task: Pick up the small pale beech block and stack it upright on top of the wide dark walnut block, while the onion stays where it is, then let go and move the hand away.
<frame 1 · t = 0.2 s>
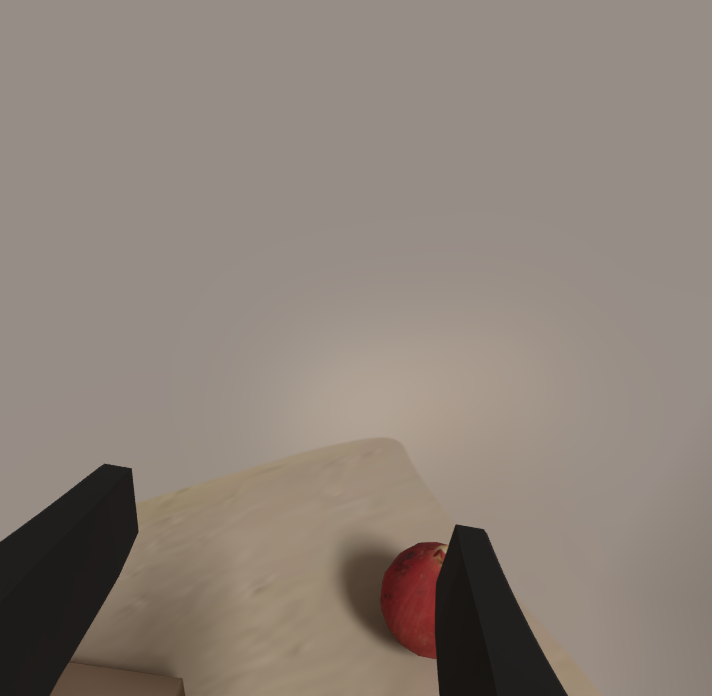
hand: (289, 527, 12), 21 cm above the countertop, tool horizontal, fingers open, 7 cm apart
onion: (422, 639, 32), on the countertop
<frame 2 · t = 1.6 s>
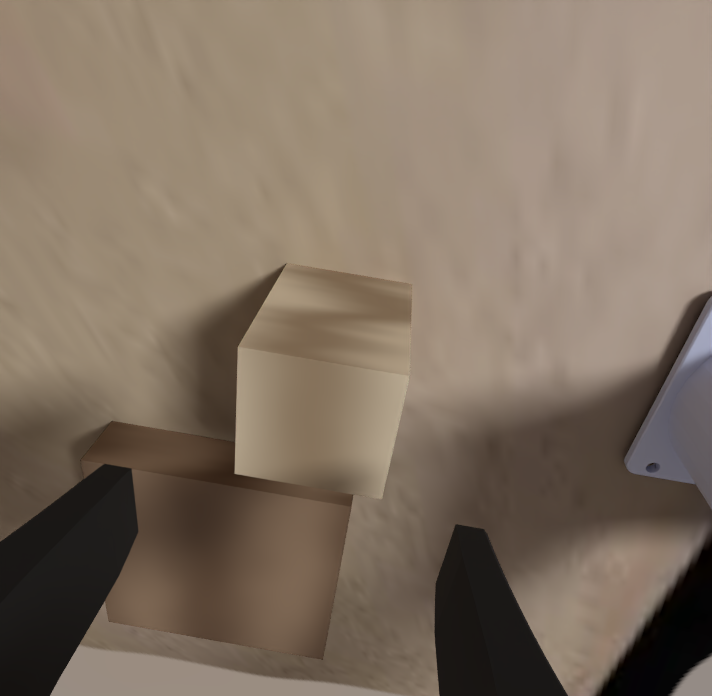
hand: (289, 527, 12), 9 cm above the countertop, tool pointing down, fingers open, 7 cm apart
beech block: (341, 328, 20), on the countertop
walnut block: (235, 519, 26), on the countertop
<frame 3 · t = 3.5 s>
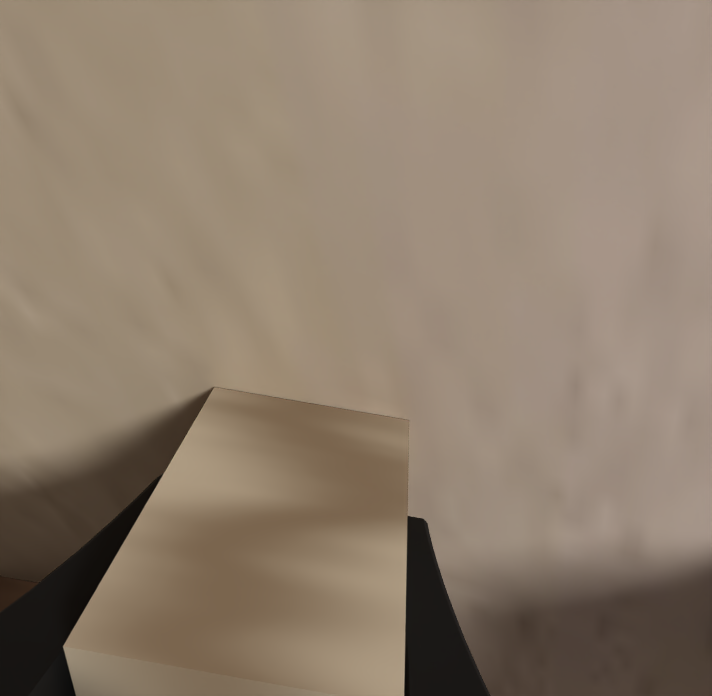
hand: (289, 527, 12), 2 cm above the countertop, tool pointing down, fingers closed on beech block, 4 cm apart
beech block: (303, 475, 13), on the countertop, touching gripper
walnut block: (172, 682, 20), on the countertop
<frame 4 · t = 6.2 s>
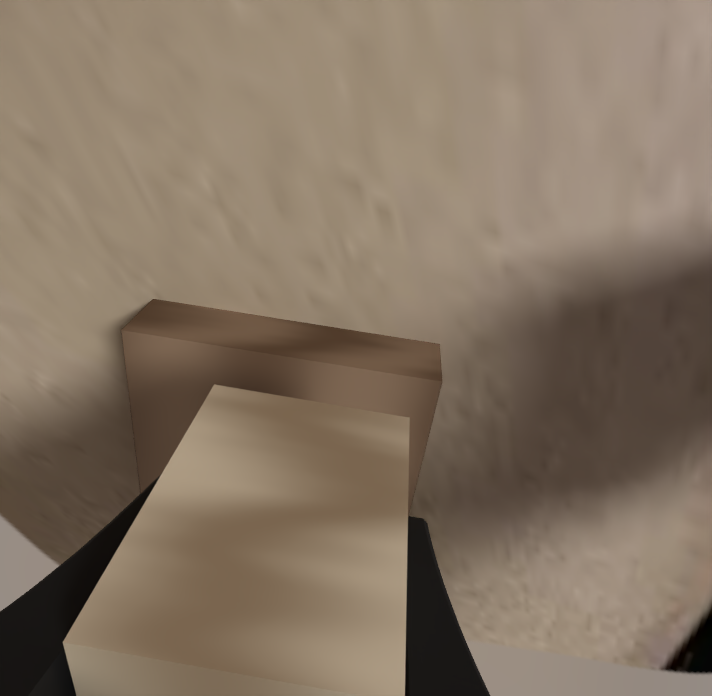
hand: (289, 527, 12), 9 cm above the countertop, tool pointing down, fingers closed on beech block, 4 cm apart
beech block: (303, 473, 13), point 8 cm above the countertop, touching gripper
walnut block: (289, 426, 23), on the countertop
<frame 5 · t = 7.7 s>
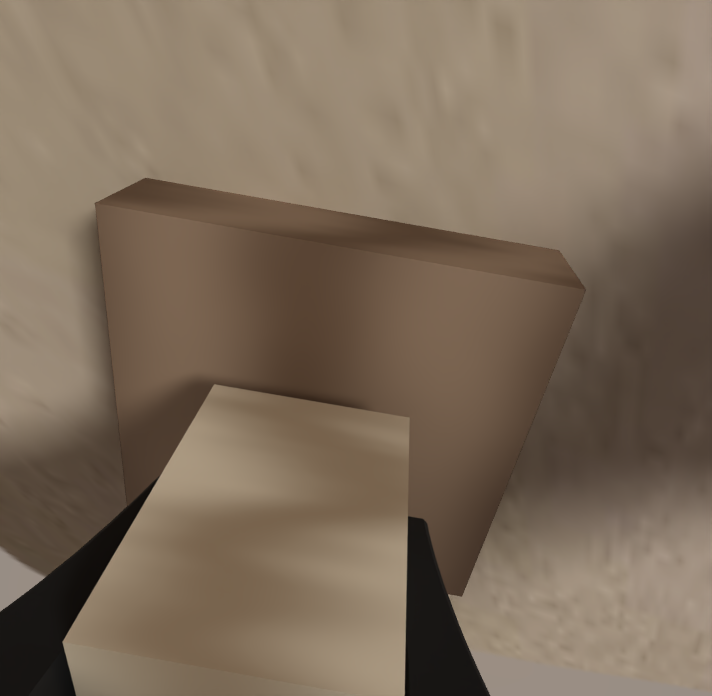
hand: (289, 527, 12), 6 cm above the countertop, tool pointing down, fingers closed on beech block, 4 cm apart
beech block: (303, 473, 13), point 4 cm above the countertop, touching gripper
walnut block: (328, 377, 17), on the countertop
when the fingers open (6 cm above the countertop, at t = 8.8 s): beech block drops 2 cm, point 2 cm above the countertop.
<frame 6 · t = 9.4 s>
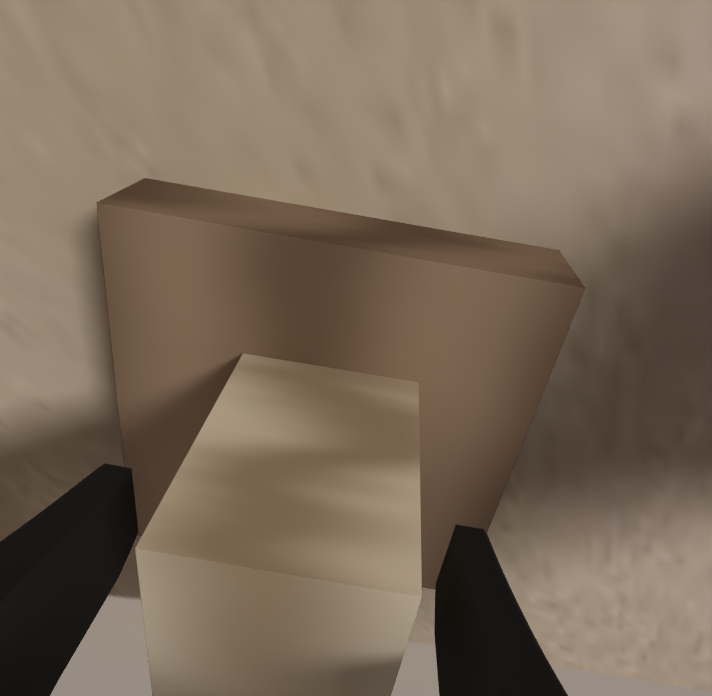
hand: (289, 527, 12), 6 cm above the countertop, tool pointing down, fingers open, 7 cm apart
beech block: (321, 436, 14), point 2 cm above the countertop
walnut block: (329, 375, 17), on the countertop
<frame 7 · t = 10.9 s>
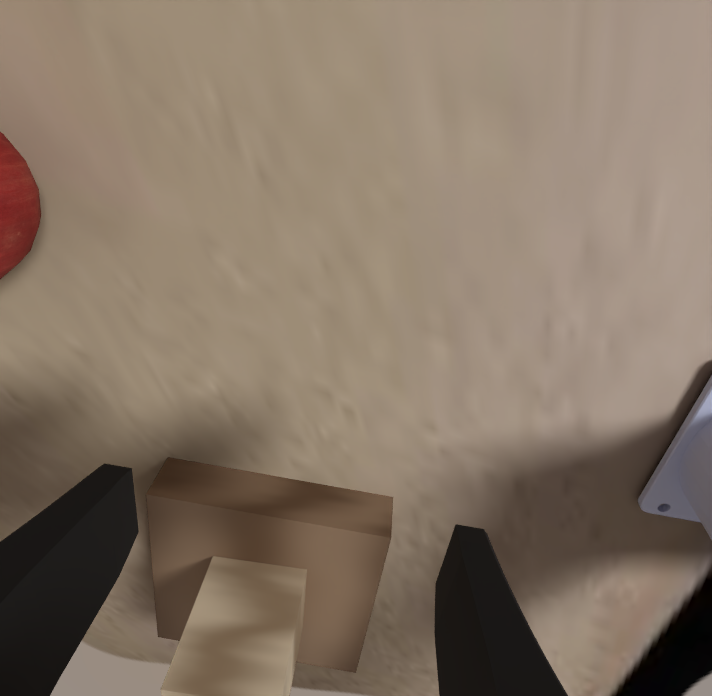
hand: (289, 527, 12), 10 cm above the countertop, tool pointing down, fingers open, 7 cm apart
beech block: (259, 592, 26), point 2 cm above the countertop, touching walnut block
walnut block: (275, 543, 29), on the countertop, touching beech block
onion: (12, 172, 19), on the countertop
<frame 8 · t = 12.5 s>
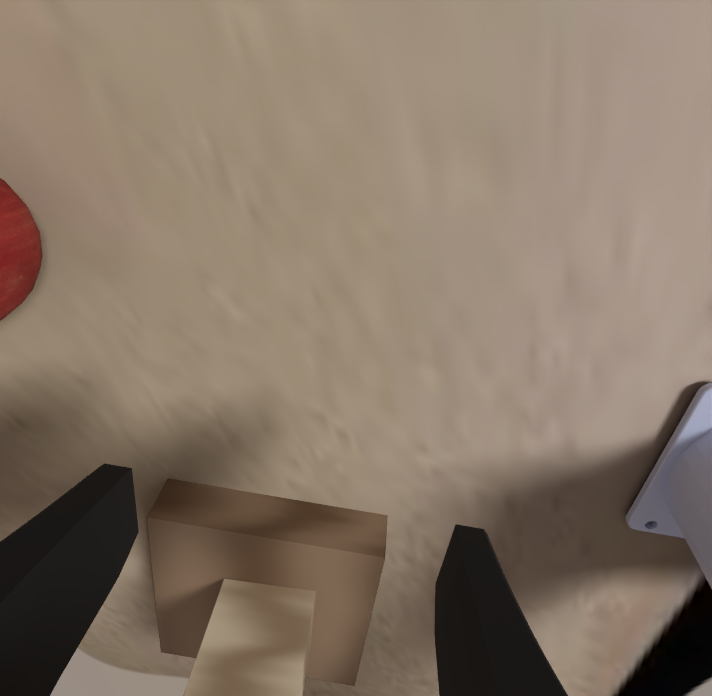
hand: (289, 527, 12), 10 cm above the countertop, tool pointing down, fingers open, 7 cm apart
beech block: (269, 613, 27), point 2 cm above the countertop, touching walnut block
walnut block: (274, 560, 29), on the countertop, touching beech block
onion: (14, 211, 20), on the countertop
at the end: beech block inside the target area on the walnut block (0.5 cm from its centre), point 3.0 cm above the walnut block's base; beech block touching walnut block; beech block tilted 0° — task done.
